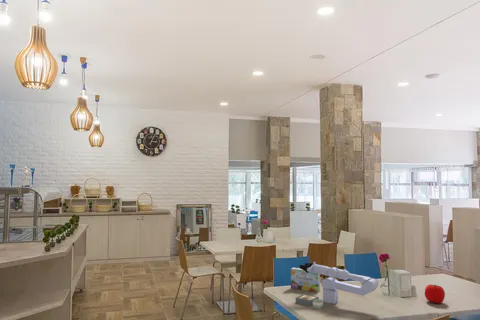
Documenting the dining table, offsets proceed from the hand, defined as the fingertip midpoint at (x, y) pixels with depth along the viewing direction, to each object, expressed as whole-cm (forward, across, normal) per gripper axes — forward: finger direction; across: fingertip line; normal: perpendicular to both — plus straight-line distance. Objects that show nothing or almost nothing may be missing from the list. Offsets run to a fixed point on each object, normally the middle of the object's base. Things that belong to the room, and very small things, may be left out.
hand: (302, 265), depth 277 cm
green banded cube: (-21, +16, +20) cm, 33 cm away
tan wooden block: (-11, +11, +20) cm, 25 cm away
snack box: (+6, -20, +22) cm, 31 cm away
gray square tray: (-11, +11, +21) cm, 26 cm away
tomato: (-76, -44, +16) cm, 90 cm away
